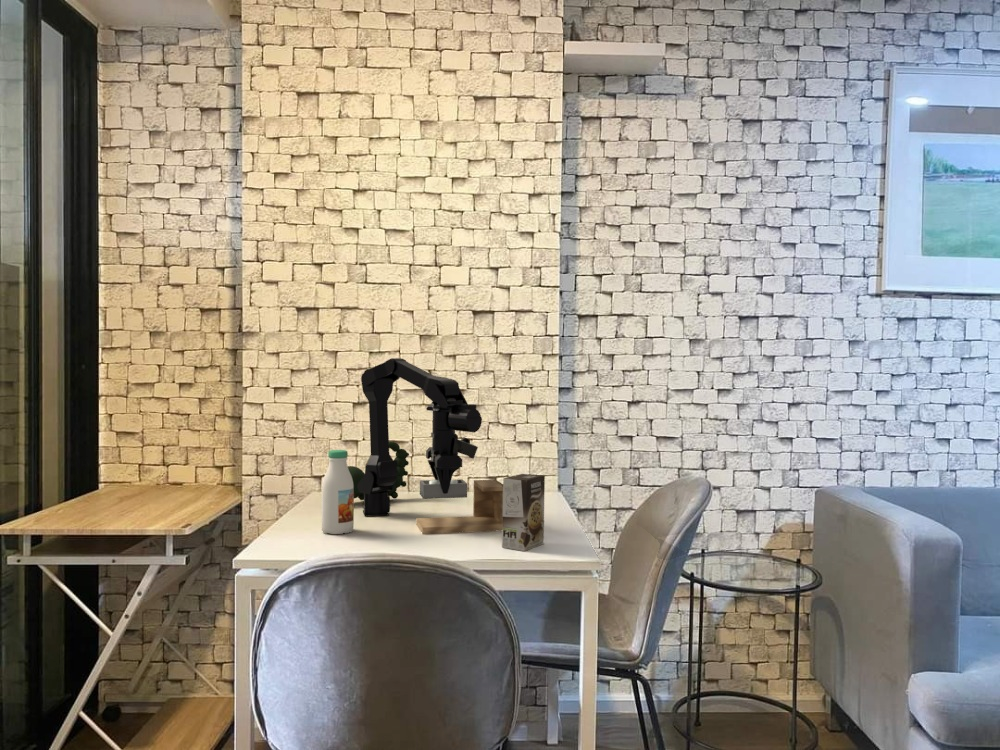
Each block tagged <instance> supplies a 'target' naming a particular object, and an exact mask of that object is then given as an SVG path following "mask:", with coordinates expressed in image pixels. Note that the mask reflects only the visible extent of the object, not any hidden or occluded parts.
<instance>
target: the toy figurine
mask: <svg viewBox="0 0 1000 750" xmlns="http://www.w3.org/2000/svg"><path fill="white" fill-rule="evenodd" d="M390 449H391V451H393V452H394V453H395V458H394V459H393V460H397V462H398V465H397V470H398V475H397V480H396V481H395V484H394V488H393V490H392V491H388V496H389V497H390V498H391V499H393V500H394V499H398V496H399V493H398V492H397V490H398V488H399V487H402V488H405V487H407V482H406V481H404V476H408V475H409V472H408V470H406V467H407V466H408V465H409V464H410V462H409V461H408V460H407V458H408V457H409V456H410V453H409V452H407V450H406V449H405V448H400V445H399V443H397V442H396V441H391V440H389V450H390ZM347 467H348V470H349V472H350V474H351V476H352V480H353V487H354V499H359V500H360V501H364V493H359V492H358V487H357V484H358V483H359V482H360V481H361V479H362V478H363V477H364V475H365V471H363V470H362V469H360V468H359V467H357V466H353V465H347Z"/></svg>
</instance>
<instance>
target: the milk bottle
mask: <svg viewBox="0 0 1000 750" xmlns="http://www.w3.org/2000/svg"><path fill="white" fill-rule="evenodd" d="M348 454H349V453H348V450H347V449H332V450H328V454H327V455H328V460H329V463H328V467H327V470H326V472H325V474H324V476H323V480H322V485H321V531H323V532H325V533H324V534H327V533H331V534H330V535H343V533H345V534H349V532H350V533H352V532H353V531H354V525H355V524H354V522H355V521H354V520H355V517H354V516H355V515H354V512H355V511H354V507H355V505H354V504H355V501H354V500H355V498H354V487H353V480H352V476H351V474H350V472H349V470H348V467H347V466H348V462H347V461H348ZM323 532H322V533H323Z"/></svg>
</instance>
